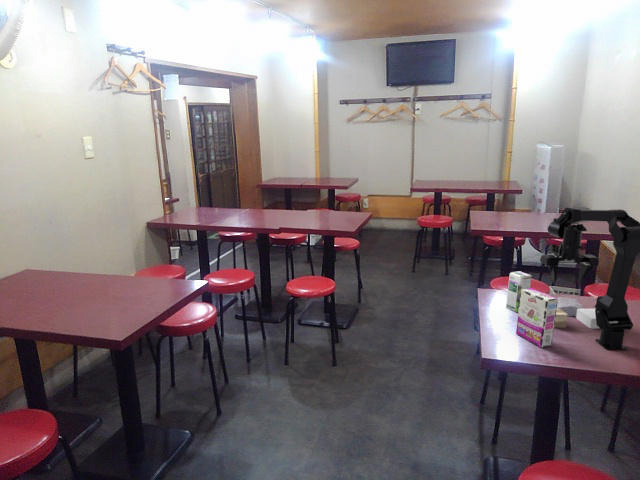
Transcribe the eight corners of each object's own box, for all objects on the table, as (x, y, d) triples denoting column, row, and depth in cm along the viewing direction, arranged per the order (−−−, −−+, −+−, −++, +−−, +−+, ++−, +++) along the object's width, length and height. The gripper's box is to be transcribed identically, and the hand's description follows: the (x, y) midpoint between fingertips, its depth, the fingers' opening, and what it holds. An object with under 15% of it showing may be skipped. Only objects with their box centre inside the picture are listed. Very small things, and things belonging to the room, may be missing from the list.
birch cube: (565, 327, 159) (567, 314, 158) (551, 327, 159) (553, 314, 158) (558, 321, 164) (560, 308, 162) (544, 321, 164) (546, 308, 163)
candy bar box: (552, 345, 146) (559, 298, 142) (541, 348, 144) (547, 300, 140) (526, 331, 156) (531, 287, 152) (515, 333, 154) (520, 289, 150)
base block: (615, 329, 158) (617, 318, 157) (590, 329, 158) (591, 318, 157) (600, 318, 167) (601, 308, 166) (575, 318, 167) (577, 308, 166)
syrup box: (505, 307, 176) (508, 272, 173) (516, 305, 179) (519, 270, 175) (516, 312, 171) (520, 276, 168) (528, 310, 174) (532, 274, 170)
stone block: (557, 320, 169) (586, 317, 167) (555, 308, 169) (585, 304, 166) (548, 309, 181) (575, 306, 178) (547, 297, 180) (574, 294, 178)
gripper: (585, 236, 169) (580, 275, 173) (535, 236, 170) (531, 275, 173) (603, 243, 158) (597, 285, 162) (549, 243, 159) (545, 285, 163)
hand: (566, 282), depth 165 cm, fingers open, 9 cm apart
